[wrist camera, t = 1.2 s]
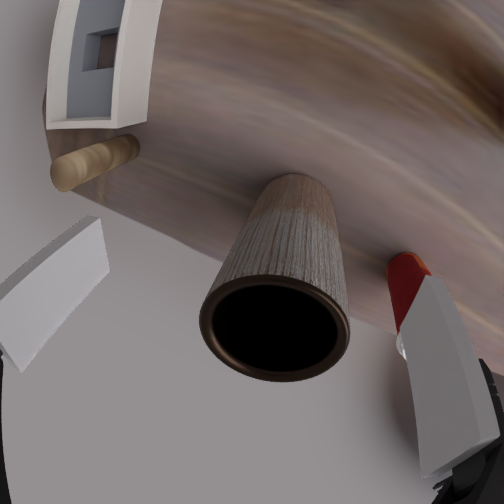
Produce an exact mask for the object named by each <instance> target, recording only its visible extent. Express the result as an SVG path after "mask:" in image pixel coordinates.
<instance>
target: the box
mask: <svg viewBox="0 0 504 504" xmlns="http://www.w3.org/2000/svg"><path fill="white" fill-rule="evenodd" d="M162 1H163V0H60V2H59V6H58V10H57V15H56V20H55V25H54V31H53V37H52V43H51V51H50V59H49V68H48V80H47V99H46V129H69V128H121V127H125V126H129V125H133V124H137V123H142V122H147V110H148V97H149V86H150V77H151V68H152V60H153V53H154V46H155V39H156V33H157V27H158V21H159V16H160V10H161V5H162ZM114 33H118V35H117V42H116V49H115V56H114V65H113V68H105V69H97V67H98V58H99V50H100V43H101V36H104V35H109V34H114Z"/></svg>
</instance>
